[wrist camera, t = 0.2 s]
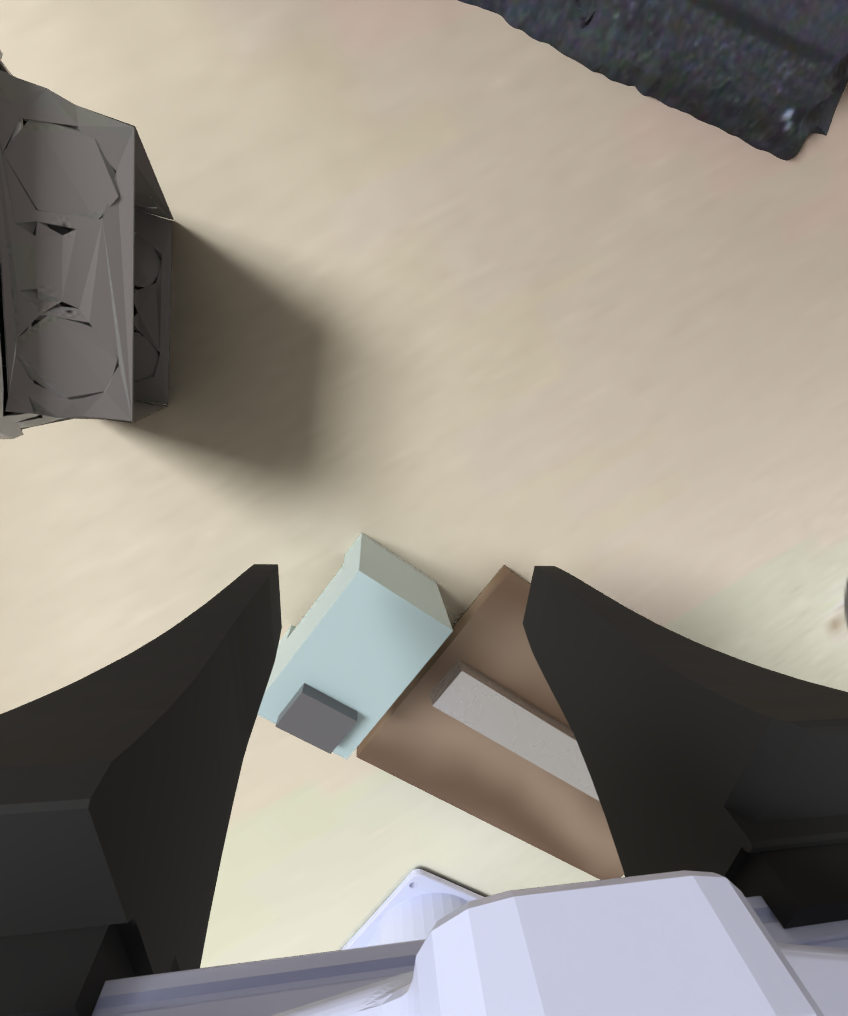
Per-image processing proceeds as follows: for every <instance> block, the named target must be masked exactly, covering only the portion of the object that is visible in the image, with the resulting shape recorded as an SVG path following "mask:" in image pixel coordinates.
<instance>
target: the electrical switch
mask: <svg viewBox="0 0 848 1016" xmlns="http://www.w3.org/2000/svg"><path fill="white" fill-rule="evenodd" d="M1 58H2V52H1V51H0V439H13V438H16V437H19V436H21V435H23V433H22V429H25V428H29V427H33V426H38V425H44V424H49V423H54V422H59V421H64V420H69V419H74V418H76V419H107V420H115V421H123V422H130V423H134V422H136V421H138V420H140V419H142V418H144V417H146V416H148V415H150V414H153V413H155V412H157V411H159V410H161V409H163V408H165V407H167V405H161V404H154V403H162V404H168V379H169V336H170V292H171V249H172V223H171V221H169V220H166V219H163V218H160V217H157V216H161V217H165V218H168V219H172V220H173V217H172V215H171V212H170V210H169V207H168V205H167V203H166V200H165V198H164V195H163V193H162V191H161V188H160V186H159V183H158V181H157V178H156V176H155V174H154V171H153V169H152V166H151V164H150V161H149V159H148V157H147V154H146V152H145V149H144V147H143V144H142V142H141V140H140V137H139V135H138V132H137V130H136V127H135V126H133V125H130V124H127V123H124V122H122V121H119V120H116V119H113V118H110V117H108V116H105V115H102V114H99V113H96V112H93V111H91V110H88V109H85V108H82V107H79V106H77V105H75V104H73V103H71V102H69V101H68V100H66V99H64V98H62V97H61V96H59V95H57V94H56V93H54V92H52V91H50V90H49V89H47V88H44V87H41V86H38V85H36V84H33V83H30V82H27V81H24V80H21V79H19V78H16V77H14V76H13V75H12V74H11V73H10V72H9V71H8V69H7V68H6V67H5V66H4V64H3V63H2V61H1ZM145 212H146V213H145ZM148 213H150V214H148ZM151 214H153V215H151ZM154 215H157V216H154ZM134 232H135V233H136V234H135V233H134ZM158 256H159V257H158ZM159 258H160V259H161V262H160V259H159ZM156 277H157V281H156V283H155V284H153V282H154V280H155V279H156ZM134 285H135V286H137V287H144V288H141V289H139V290H138V289H134ZM134 305H135V307H136V312H135V316H134ZM134 330H137V331H139V332H140V333H141V334H142V335H143V336H142V335H141V334H140V333H138V332H134ZM157 350H158V351H159V352H160V355H159V357H158V352H157ZM144 379H145V380H144ZM140 380H141V381H140ZM142 401H144V402H142ZM148 402H153V403H148Z"/></svg>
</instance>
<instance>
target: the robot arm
mask: <svg viewBox="0 0 848 1016" xmlns="http://www.w3.org/2000/svg"><path fill="white" fill-rule="evenodd" d="M523 626H524V630H525V633H526V636H527V639H528V642H529V644H530V647H531V650H532V653H533V655H534V657H535V659H536V661H537V663H538V665H539V667H540V669H541V671H542V673H543V675H544V677H545V679H546V681H547V683H548V685H549V687H550V689H551V691H552V693H553V694H554V696H555V698H556V700H557V702H558V704H559V706H560V708H561V710H562V712H563V714H564V716H565V718H566V720H567V722H568V723H569V726H570V728H571V730H572V732H573V734H574V736H575V738H576V741H577V743H578V746H579V748H580V751H581V753H582V756H583V758H584V761H585V763H586V766H587V769H588V771H589V774H590V776H591V779H592V782H593V784H594V787H595V790H596V793H597V795H598V798H599V801H600V803H601V806H602V809H603V812H604V814H605V817H606V820H607V823H608V826H609V829H610V832H611V835H612V838H613V841H614V844H615V847H616V850H617V853H618V856H619V859H620V862H621V865H622V868H623V871H624V875H625V877H623V878H614V879H606V880H597V881H589V882H580V883H571V884H563V885H554V886H545V887H537V888H528V889H520V890H511V891H506V892H503V893H499V894H495V895H491V896H487V897H483V896H481V895H478V894H476V893H474V892H472V891H469V890H467V889H465V888H463V887H460V886H458V885H456V884H454V883H451V882H449V881H447V880H445V879H442V878H440V877H438V876H436V875H433V874H431V873H429V872H426V871H424V870H422V869H414V870H413V871H412V872H411V873H410V874H409V875H408V876H407V877H406V878H405V879H404V880H403V882H402V883H401V884H400V885H399V886H398V887H397V888H396V889H395V890H394V892H393V893H392V894H391V895H390V896H389V897H388V898H387V899H386V900H385V902H384V903H383V904H382V905H381V906H380V907H379V908H378V909H377V910H376V912H375V913H374V914H373V915H372V916H371V917H370V918H369V919H368V920H367V922H366V923H365V924H364V925H363V926H362V927H361V928H360V929H359V930H358V932H357V933H356V934H355V935H354V936H353V937H352V938H351V939H350V940H349V942H348V943H347V944H346V945H345V946H344V947H343V948H342V949H341V950H338V951H330V952H323V953H315V954H307V955H300V956H292V957H284V958H276V959H269V960H261V961H253V962H246V963H238V964H230V965H223V966H215V967H207V968H200V964H201V959H202V954H203V948H204V943H205V937H206V932H207V927H208V921H209V916H210V911H211V906H212V901H213V896H214V891H215V886H216V881H217V876H218V871H219V866H220V861H221V856H222V852H223V847H224V842H225V838H226V833H227V828H228V824H229V819H230V815H231V810H232V805H233V801H234V796H235V792H236V788H237V783H238V779H239V775H240V770H241V766H242V762H243V758H244V755H245V751H246V748H247V744H248V741H249V738H250V735H251V732H252V729H253V726H254V723H255V720H256V717H257V714H258V711H259V708H260V705H261V702H262V699H263V696H264V693H265V690H266V687H267V684H268V681H269V678H270V675H271V672H272V669H273V666H274V663H275V659H276V654H277V649H278V644H279V639H280V633H281V628H282V625H281V608H280V591H279V574H278V565H277V564H254V565H253V566H251V567H250V568H249V569H247V570H246V571H245V572H244V573H243V574H241V575H240V576H239V577H238V578H237V579H236V580H234V581H233V582H232V583H231V584H230V585H228V586H227V587H226V588H225V589H223V590H222V591H221V592H220V593H218V594H217V595H216V596H215V597H213V598H212V599H211V600H210V601H208V602H207V603H206V604H205V605H203V606H202V607H200V608H199V609H198V610H196V611H195V612H193V613H192V614H191V615H189V616H188V617H187V618H185V619H184V620H182V621H181V622H180V623H178V624H177V625H175V626H174V627H173V628H171V629H170V630H168V631H167V632H165V633H163V634H162V635H160V636H159V637H157V638H156V639H154V640H152V641H151V642H149V643H147V644H146V645H144V646H142V647H141V648H139V649H137V650H136V651H134V652H132V653H130V654H129V655H127V656H125V657H123V658H121V659H119V660H117V661H115V662H113V663H111V664H110V665H108V666H106V667H104V668H102V669H100V670H98V671H96V672H94V673H92V674H90V675H88V676H86V677H84V678H82V679H80V680H78V681H76V682H74V683H72V684H70V685H68V686H66V687H63V688H61V689H59V690H57V691H55V692H52V693H50V694H48V695H46V696H43V697H41V698H39V699H36V700H34V701H32V702H29V703H27V704H25V705H22V706H20V707H18V708H15V709H13V710H10V711H8V712H5V713H3V714H0V1016H848V692H844V691H841V690H837V689H833V688H829V687H826V686H822V685H818V684H814V683H810V682H807V681H803V680H800V679H797V678H794V677H790V676H787V675H784V674H781V673H778V672H775V671H771V670H768V669H765V668H762V667H759V666H756V665H754V664H751V663H748V662H745V661H742V660H739V659H737V658H734V657H732V656H729V655H727V654H724V653H721V652H719V651H716V650H714V649H711V648H709V647H706V646H704V645H701V644H699V643H697V642H694V641H692V640H690V639H688V638H686V637H683V636H681V635H679V634H677V633H675V632H673V631H670V630H668V629H666V628H664V627H662V626H660V625H658V624H656V623H654V622H652V621H650V620H649V619H647V618H645V617H643V616H641V615H639V614H637V613H635V612H634V611H632V610H630V609H628V608H626V607H625V606H623V605H621V604H619V603H618V602H616V601H614V600H613V599H611V598H609V597H608V596H606V595H604V594H603V593H601V592H599V591H598V590H596V589H594V588H593V587H591V586H589V585H588V584H586V583H584V582H583V581H581V580H579V579H578V578H576V577H574V576H572V575H571V574H569V573H567V572H565V571H563V570H562V569H559V568H557V567H555V566H535V567H534V572H533V576H532V581H531V586H530V591H529V595H528V600H527V605H526V610H525V614H524V619H523Z"/></svg>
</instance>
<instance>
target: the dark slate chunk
mask: <svg viewBox="0 0 848 1016" xmlns="http://www.w3.org/2000/svg"><path fill="white" fill-rule="evenodd" d="M458 1H461V2H464V3H467V4H471V5H475V6H478V7H481V8H483V9H486V10H489V11H492V12H495V13H497V14H499V15H501V16H502V17H503V18H504V19H505V20H506V22H507V23H508V24H509V25H511V26H512V27H514V28H516V29H520V30H522V31H524V32H525V33H526V34H528V35H529V36H530V37H531V38H533V39H535V40H537V41H540V42H545V43H548V44H550V45H551V46H553V47H554V48H555V49H557V50H558V51H559V52H561V53H562V54H564V55H566V56H567V57H569V58H572V59H573V60H575V61H577V62H579V63H581V64H582V65H584V66H585V67H587V68H588V69H590V70H591V71H593V72H599V73H601V74H603V75H605V76H606V77H607V78H608V79H610V80H612V81H615V82H619V83H622V84H624V85H627V86H635V87H636V88H637V90H638V91H639V92H640V93H641V94H642V95H644V96H650V97H653V98H655V99H657V100H659V101H660V102H662V103H664V104H665V105H667V106H669V107H672V108H675V109H678V110H680V111H682V112H685V113H688V114H690V115H692V116H693V117H695V118H696V119H698V120H700V121H703V122H705V123H708V124H711V125H713V126H716V127H718V128H720V129H722V130H724V131H725V132H727V133H728V134H730V135H734V136H737V137H739V138H741V139H742V140H743V141H745V142H746V143H748V144H749V145H751V146H753V147H754V148H757V149H760V150H764V151H767V152H769V153H771V154H773V155H774V156H776V157H778V158H780V159H782V160H788V159H791V158H793V157H794V156H795V155H796V154H797V153H798V152H799V151H800V149H801V147H802V145H803V143H804V141H805V139H806V138H807V136H808V135H809V134H810V133H819V134H823V135H827V132H828V130H829V127H830V124H831V121H832V118H833V115H834V113H835V110H836V107H837V105H838V102H839V100H840V97H841V95H842V93H843V91H844V89H845V86H846V84H847V81H848V0H458Z"/></svg>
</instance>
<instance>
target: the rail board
mask: <svg viewBox="0 0 848 1016" xmlns="http://www.w3.org/2000/svg"><path fill="white" fill-rule="evenodd" d="M530 586H531V584H530V583H528V582H527V581H526V580H524V579H523V578H522V577H520V576H519V575H517V574H516V573H515V572H513V571H512V570H510V569H509V568H508V567H506V566H505V565H504V566H503V567H502V568H501V569H500V571H499V572H498V573H497V574H496V575H495V577H494V578H493V579H492V580H491V582H490V583H489V584H488V585H487V586H486V588H485V589H484V590H483V591H482V592H481V594H480V595H479V596H478V597H477V598H476V600H475V601H474V602H473V603H472V605H471V606H470V607H469V608H468V609H467V611H466V612H465V613H464V614H463V615H462V617H461V618H460V619H459V620H458V622H457V623H456V624H455V625H454V626H453V628H452V629H453V631H452V633H451V634H450V635H449V636H448V638H447V639H446V640H445V641H444V642H443V644H442V645H441V646H440V647H439V648H438V650H437V651H436V652H435V653H434V654H433V656H432V657H431V658H430V659H429V661H428V662H427V663H426V664H425V665H424V667H423V668H422V669H421V670H420V671H419V673H418V674H417V675H416V676H415V678H414V679H413V680H412V681H411V682H410V684H409V685H408V686H407V687H406V688H405V690H404V691H403V692H402V693H401V694H400V696H399V697H398V698H397V699H396V701H395V702H394V703H393V704H392V705H391V707H390V708H389V709H388V710H387V711H386V713H385V714H384V715H383V716H382V717H381V719H380V720H379V721H378V722H377V724H376V725H375V726H374V727H373V728H372V730H371V731H370V732H369V733H368V734H367V736H366V737H365V738H364V739H363V740H362V742H361V743H360V744H359V745H358V747H357V757H358V758H360V759H362V760H364V761H366V762H368V763H370V764H372V765H374V766H376V767H378V768H380V769H382V770H384V771H386V772H388V773H390V774H391V775H393V776H395V777H397V778H399V779H401V780H403V781H405V782H407V783H409V784H411V785H413V786H415V787H417V788H419V789H421V790H423V791H425V792H427V793H429V794H431V795H433V796H435V797H437V798H439V799H441V800H443V801H445V802H447V803H449V804H451V805H453V806H455V807H457V808H459V809H461V810H463V811H465V812H467V813H469V814H471V815H473V816H475V817H477V818H479V819H481V820H483V821H485V822H487V823H489V824H491V825H493V826H495V827H497V828H499V829H501V830H503V831H505V832H507V833H509V834H511V835H513V836H515V837H517V838H519V839H521V840H523V841H525V842H527V843H529V844H531V845H533V846H535V847H537V848H539V849H541V850H543V851H545V852H547V853H549V854H551V855H553V856H554V857H556V858H558V859H560V860H562V861H564V862H566V863H568V864H570V865H572V866H574V867H576V868H578V869H580V870H582V871H584V872H586V873H588V874H590V875H592V876H594V877H596V878H598V879H600V880H606V879H614V878H621V877H622V876H623V875H624V871H623V868H622V865H621V862H620V859H619V856H618V853H617V850H616V847H615V844H614V841H613V838H612V835H611V832H610V829H609V826H608V823H607V820H606V817H605V814H604V812H603V809H602V806H601V803H600V801H599V798H598V795H597V793H596V790H595V787H594V784H593V782H592V779H591V776H590V774H589V771H588V769H587V766H586V763H585V761H584V758H583V756H582V753H581V751H580V748H579V746H578V743H577V741H576V738H575V736H574V734H573V732H572V730H571V728H570V726H569V723H568V722H567V720H566V718H565V716H564V714H563V712H562V710H561V708H560V706H559V704H558V702H557V700H556V698H555V696H554V694H553V693H552V691H551V689H550V687H549V685H548V683H547V681H546V679H545V677H544V675H543V673H542V671H541V669H540V667H539V665H538V663H537V661H536V659H535V657H534V655H533V653H532V650H531V647H530V644H529V642H528V639H527V636H526V633H525V630H524V626H523V619H524V614H525V610H526V605H527V600H528V595H529V591H530Z"/></svg>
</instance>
